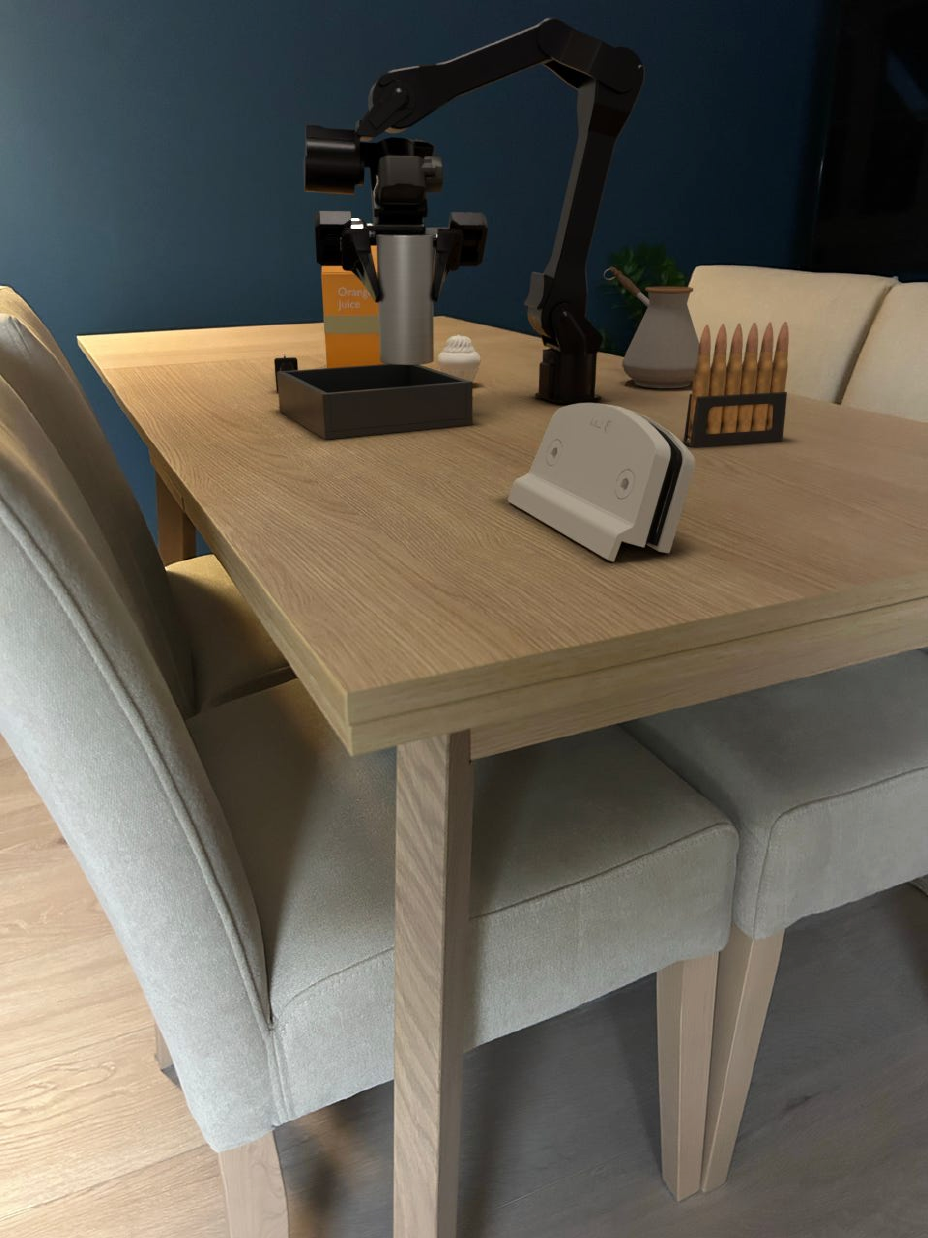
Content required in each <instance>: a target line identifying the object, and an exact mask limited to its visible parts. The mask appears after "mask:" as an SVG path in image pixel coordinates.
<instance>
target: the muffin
mask: <svg viewBox="0 0 928 1238" xmlns="http://www.w3.org/2000/svg"><path fill="white" fill-rule="evenodd" d="M436 363H437V365H438V367H439V368H438V371H440V372H443V373H446V374H449V375H452V376H455V377H458V378H461V379H464V380H467V381H470V382H472V383H473V382H474V379H475V378H476V375H477V373H478V372H479V369H480V368H479V366H480V365H481V363H482V357H481V355H480V354H479V353H478V352H477V351H476V350H475V347H474V346H473V343H472V340H471V339H470V338H469V337H468V336H465V335H461V334H460V333H458V334H457V335H452V336H450V337H448V338H447V340H446V342H445V346H444V347H443V348H442V351H440V353H439V354H438V355H437V357H436Z"/></svg>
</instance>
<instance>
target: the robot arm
mask: <svg viewBox="0 0 928 1238" xmlns="http://www.w3.org/2000/svg"><path fill="white" fill-rule="evenodd" d="M538 65H542V66H543V67H545V68H546V69H548V70H550V71H551V72H552V73H553V74H554V75H556V76H557V77H558V78H559V79H560V80H562V81H563V82H564V83H565V84H567V85H568V86H570V87H572V88H574V89H575V90H577V101H576V113H577V114H576V115H577V116H576V117H577V125H578V126H577V127H578V137H577V143H576V147H575V150H574V154H573V155H574V156H573V160H572V165H571V169H570V174H569V177H568V181H567V182H568V183H567V186H566V190H565V196H564V199H563V203H562V209H561V213H560V218H559V222H558V227H557V231H556V234H555V240H554V244H553V249H552V251H551V253H552V254H551V257H550V260H549V261H548V264H547V265H546V267H545V269H544V270H543V272H542V273H541V272H537V271H532V272H531V273H530V278H529V279H530V280H529V281H530V282H529V290H528V291H529V292H528V294H527V297H526V299H525V301H524V302H523V305H524V306H527V320H528V322H529V324H530V326H531V327H532V329H533V330H534V331H536V333H538V334H539V336H540V339H541V342H542V345H543V346H544V347H545V348H547V349H542V361H540V362H539V367H538V368H539V369H538V372H539V373H538V375H539V376H538V392H535V393H534V397H536V398H540V399H543V400H545V401H548V402H552V403H555V404H559V405H564V404H577V403H587V402H596V401H602V395H598V394H596V379H597V378H596V377H597V359H598V353H599V351H600V348H601V345H602V343H603V340H604V336H603V335H602V334H601V333H600V331H598V329H596V327H595V326H594V325H593V324H592V323H591V322H590V320H589V319H588V318H587V308H588V295H589V289H588V280H587V279H588V278H587V277H588V276H587V263H588V259H589V256H590V251H591V246H592V242H593V238H594V234H595V231H596V230H595V229H596V225H597V222H598V218H599V215H600V214H599V213H600V209H601V205H602V201H603V197H604V192H605V188H606V184H607V180H608V175H609V172H610V169H611V168H610V167H611V164H612V159H613V156H614V151H615V148H616V147H615V146H616V144H617V141H618V139H619V136H620V134H622V131H623V129H624V128H625V126H626V124H627V122H628V121H629V119H630V117H631V115H632V113H633V111H634V109H635V106H636V104H637V102H638V98H639V96H640V94H641V91H642V89H643V86H644V83H645V75H646V71H645V70H646V69H645V65H643V63H642V59H641V58H640V56H639V55H638V54H637V53H636V52H635V51H634V50H633V49H631V48H629V47H627V46H616V47H613V45H611V44H609V43H608V42H606V41H604V40H602V39H600V38H597V37H595V36H593V35H590V34H588V33H586V32H582V31H580V30H577V29H575V28H573V27H572V26H570V25H569V24H567V23H565V22H563V21H562V20H561V19H560V18H556V17H554V16H553V17H547V18H544V19H543V20H541V21H540V22H539V23H537V24H536V25H534V26H531V27H529V28H526V29H523V30H521V31H519V32H516V33H513V34H511V35H508V36H506V37H504V38H501V39H499V40H496V41H494V42H491V43H489V44H486V45H484V46H481V47H479V48H477V49H476V48H475V49H474V50H471V51H469V52H467V53H464V54H462V55H459V56H457V57H454V58H452V59H449V60H446V61H442V62H437V63H429V64H418V65H414V66H407V67H402V68H397V69H392V70H389V71H386V72H385V73H383V74H382V75H381V76H380V77H379V78H378V79H377V81H376V82H375V83H374V84H373V85H372V86H371V89H370V91H369V94H368V96H367V108H368V110H367V111H366V112H365V114H364V116H363V117H362V118H361V119H358V120H357V121H356V122H355V127H354V129H349V128H348V129H347V128H337V127H336V128H333V127H325V126H322V125H318V124H306V125H305V128H304V131H305V133H304V137H305V138H304V140H305V141H304V157H303V158H302V165H303V169H302V171H303V172H302V173H303V191H304V192H305V193H320V194H321V193H322V194H335V195H337V194H339V195H355V189H356V188H355V187H356V186H364V183H365V170H366V169H367V168H368V174H369V184H370V185H369V186H370V196H371V209H372V220H373V221H372V222H373V223H366V222H365V220H364V219H362V218H352V211H351V210H319V211H317V213H316V214H315V215H314V216H313V218H314V219H313V220H314V237H315V238H314V241H315V257H316V263H317V265H320V266H321V267H322V266H342V268H343V270H345V271H351V272H352V273H353V274H354V275H355V276H356V277H357V278H358V279H359V280H360V281H361V282H362V283H363V285H364V286H365V288H366V289H367V291H368V292H369V294H370V295H371V297H372V298H373V300H374V301H375V302H376V303H379V284H378V279H377V274H376V270H375V265H374V260H373V256H372V251H371V246H377V239H376V236H377V235H389V234H403V235H433V251H434V256H433V303H438V302H439V298H440V295H441V292H442V289H443V285H444V283H445V281H446V279H447V278H448V276H449V274H450V273H451V272H456V271H458V270H459V269H460V267H478V266H479V265H481V264H483V260H484V254H485V248H486V243H487V237H488V232H489V231H488V230H489V226H488V220H487V217H486V216H485V215H484V213H483V211H481V212H480V211H479V212H476V211H475V212H473V211H472V212H471V211H470V212H469V211H468V212H467V211H450V212H449V218H448V224H447V227H426V220H425V218H428V215H429V206H428V205H429V204H428V195H427V193H428V194H440V193H442V189H443V185H444V167H443V159H442V156H439V155H434V154H435V148H436V147H435V145H434V144H432V143H431V142H429V141H424V140H423V139H421V138H420V137H419V138H416V139H414V140H413V139H410V138H408V137H395V136H394V137H393V136H390V137H388V138H384V139H381V140H379V141H377V142H371V141H372V140H373V139H375V138H376V137H378V136H380V135H382V133H384V132H386V133H389V134H398V133H402V132H404V131H407V129H409V128H411V127H413V126H414V125H416V124H417V123H418V122H420V121H422V120H423V119H424V118H426V117H428V116H429V115H431V114H433V113H434V112H436V110H437V111H438V109H440V108H441V107H443V106H445V105H446V104H447V103H449V102H450V101H452V100H454V99H457V98H459V97H462V96H465V95H466V94H469V93H472V92H474V91H476V90H479V89H481V88H483V87H487V86H489V85H492V84H494V83H496V82H498V81H501V80H504V79H506V78H508V77H511V76H514V75H516V74H518V73H521V72H523V71H525V70H528V69H530V68H531V69H532V68H534V67H536V66H538ZM365 168H366V169H365Z"/></svg>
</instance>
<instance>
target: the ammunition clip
mask: <svg viewBox="0 0 928 1238" xmlns="http://www.w3.org/2000/svg"><path fill="white" fill-rule="evenodd" d="M710 329H711V328H710V326H709V324H705V325H704V327H703V329H702V332H701V334H700V339H699V350H698V356H697V363H696V366H695V370H694V379H693V381H692V391H691V393H690V394H689V398H688V405H687V411H686V412H687V413H686V419H685V427H684V435H683V442H682V443H683V444H684V445H687V446H689V447H691V448H700V447H714V446H727V445H728V446H729V445H743V444H756V443H757V444H758V443H770V442H782V441H783V439H784V430H785V421H786V409H787V398H788V397H787V396H788V395H787V394H788V392H787V391H786V384H787V376H788V370H789V369H788V368H789V365H788V364H789V363H788V362H789V361H788V357H789V356H788V355H789V342H790V341H789V339H790V336H789V335H790V333H789V326H788V323H787V321H784V322H783V323H782V325H781V327H780V329H779V333H778V335H777V340H776V345H775V351H774V339H775V338H774V337H775V336H774V327H773V324H772V322H768V323H767V325H766V327H765V330H764V332H763V334H762V335H763V336H762V340H761V345H760V351H759V330H758V325H757V323H756V322H753V323H752V325H751V327H750V329H749V332H748V335H747V338H746V342H745V351H744V356H743V346H744V338H743V337H744V336H743V329H742V324H741V323H737V325H736V326H735V329H734V332H733V334H732V338H731V342H730V349H729V355H728V361H727V351H728V350H727V347H728V336H727V335H728V334H727V328H726V326H725V323H722V324H721V325H720V326H719V329H718V332H717V335H716V337H715V343H714V344H715V345H714V351H713V355H712V362H711V351H712V350H711V348H712V337H711V330H710ZM758 351H759V354H758ZM758 355H759V357H758ZM773 355H774V356H773Z"/></svg>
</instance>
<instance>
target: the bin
mask: <svg viewBox="0 0 928 1238" xmlns="http://www.w3.org/2000/svg"><path fill="white" fill-rule="evenodd" d="M277 381H278V391H277V393H278V404H279V413H280V412H281V413H282V414H283V415H285V416H287V417H288V418H290V419H291V420H293V421H294V422H296V423H297V424H299V425H301V426H303V427H304V428H306V429H307V430H309V431H310V432H312V433H313V434H315V435H317V436H318V437H320V438H322V439H323V440H325V441H327V440H328V441H329V440H338V439H348V438H357V437H366V436H376V435H385V434H395V433H396V434H397V433H405V432H414V431H415V432H416V431H424V430H434V429H444V428H454V427H463V426H472V425H473V387H474V386H473V384H474V383H473V381H472V382H470V381H467V380H464V379H461V378H458V377H455V376H452V375H449V374H446V373H443V372H440V370H437V369H434V368H432V367H431V368H430V367H429V366H428V367H427V366H425V365H423V364H420V365H393V364H377V365H363V366H349V367H335V368H327V367H323V368H307V369H298V370H293V371H278V372H277Z"/></svg>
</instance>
